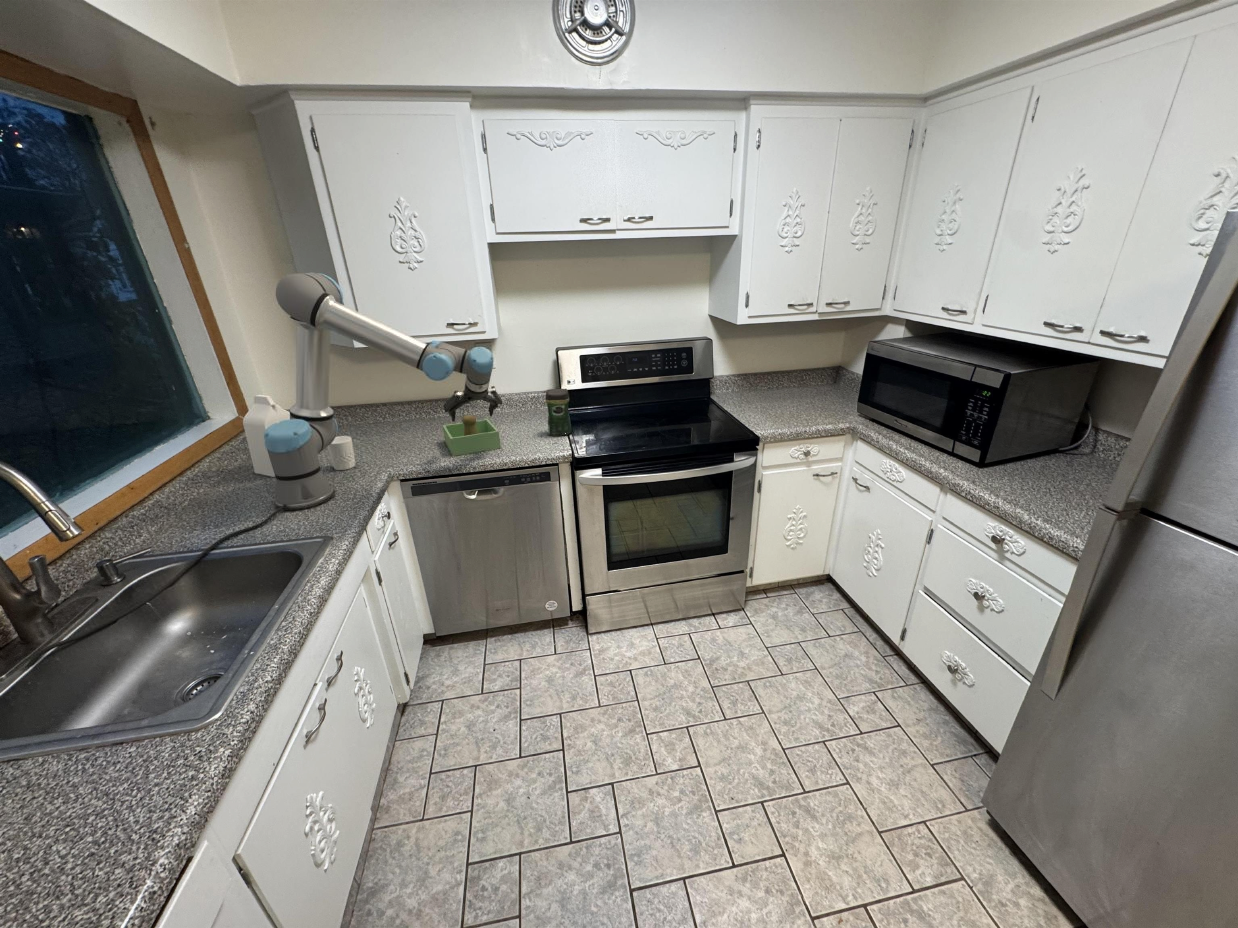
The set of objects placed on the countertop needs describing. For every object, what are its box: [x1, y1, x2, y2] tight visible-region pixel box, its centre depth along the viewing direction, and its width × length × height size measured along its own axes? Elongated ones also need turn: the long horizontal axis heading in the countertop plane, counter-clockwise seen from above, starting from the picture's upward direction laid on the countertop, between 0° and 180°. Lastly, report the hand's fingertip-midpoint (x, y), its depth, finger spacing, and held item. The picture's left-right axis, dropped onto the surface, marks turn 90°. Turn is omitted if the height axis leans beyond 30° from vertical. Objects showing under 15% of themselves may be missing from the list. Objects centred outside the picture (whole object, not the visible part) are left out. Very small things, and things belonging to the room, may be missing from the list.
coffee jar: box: [544, 388, 572, 437], centre depth 203 cm, size 10×8×19 cm
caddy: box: [442, 418, 501, 457], centre depth 194 cm, size 18×18×7 cm
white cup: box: [326, 435, 356, 471], centre depth 174 cm, size 8×8×10 cm
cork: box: [461, 414, 478, 436], centre depth 193 cm, size 6×6×11 cm
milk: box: [242, 394, 290, 478], centre depth 169 cm, size 12×12×26 cm
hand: (471, 415), depth 184 cm, fingers open, 13 cm apart
